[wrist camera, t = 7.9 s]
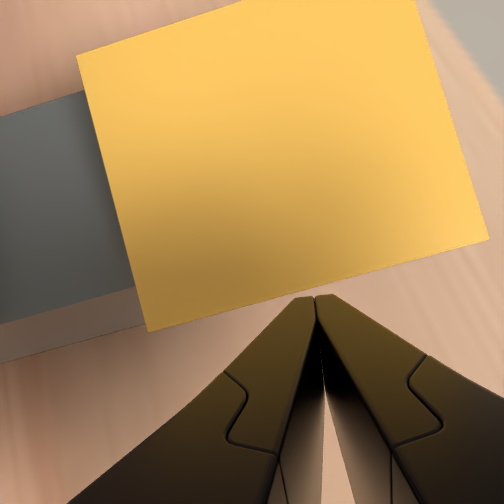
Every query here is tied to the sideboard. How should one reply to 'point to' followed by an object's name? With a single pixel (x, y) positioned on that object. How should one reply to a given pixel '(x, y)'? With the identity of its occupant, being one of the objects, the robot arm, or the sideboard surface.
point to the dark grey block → (59, 233)
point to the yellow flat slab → (276, 151)
